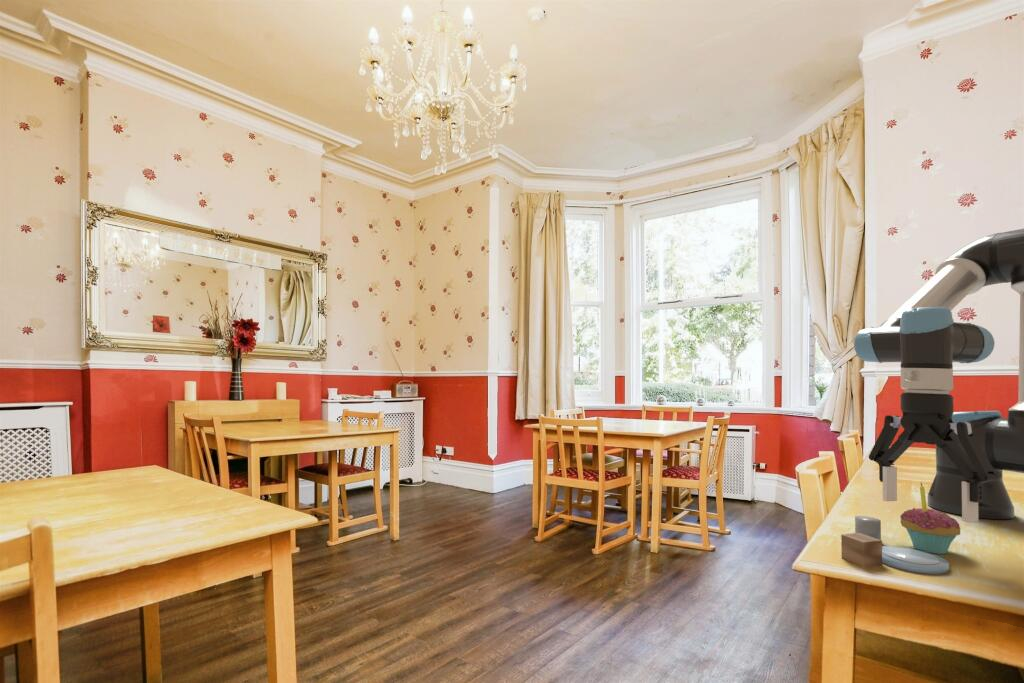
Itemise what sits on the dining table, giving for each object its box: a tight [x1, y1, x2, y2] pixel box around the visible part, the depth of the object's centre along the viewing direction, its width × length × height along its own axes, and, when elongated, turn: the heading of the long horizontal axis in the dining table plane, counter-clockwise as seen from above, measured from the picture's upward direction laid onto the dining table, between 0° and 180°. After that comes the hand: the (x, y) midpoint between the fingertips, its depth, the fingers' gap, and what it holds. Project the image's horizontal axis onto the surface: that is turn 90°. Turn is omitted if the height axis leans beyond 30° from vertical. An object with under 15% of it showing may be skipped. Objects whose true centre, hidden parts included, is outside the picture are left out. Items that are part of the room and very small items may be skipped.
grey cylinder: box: [854, 515, 882, 540], centre depth 97 cm, size 4×4×4 cm
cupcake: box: [900, 482, 961, 555], centre depth 93 cm, size 9×8×12 cm
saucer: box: [882, 545, 950, 575], centre depth 86 cm, size 10×10×1 cm
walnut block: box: [840, 533, 883, 568], centre depth 86 cm, size 4×4×4 cm
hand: (927, 510), depth 93 cm, fingers open, 13 cm apart
